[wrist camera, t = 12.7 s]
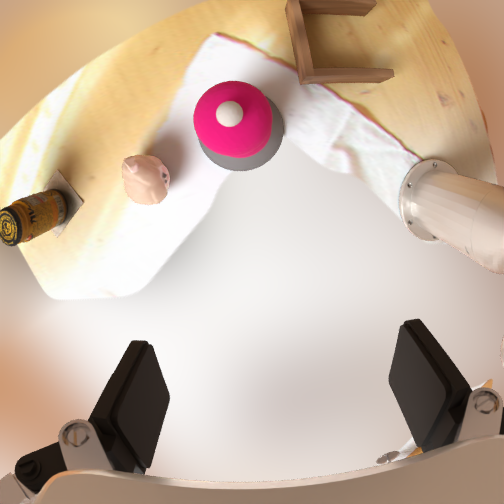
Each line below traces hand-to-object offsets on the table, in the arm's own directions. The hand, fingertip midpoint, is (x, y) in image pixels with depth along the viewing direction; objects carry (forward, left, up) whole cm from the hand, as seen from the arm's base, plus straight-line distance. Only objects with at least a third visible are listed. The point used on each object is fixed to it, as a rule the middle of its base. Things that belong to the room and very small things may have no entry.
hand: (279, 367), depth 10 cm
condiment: (+30, +11, -32) cm, 45 cm away
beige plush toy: (+15, +2, -32) cm, 35 cm away
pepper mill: (+6, -8, -31) cm, 33 cm away
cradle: (-1, -25, -32) cm, 40 cm away
